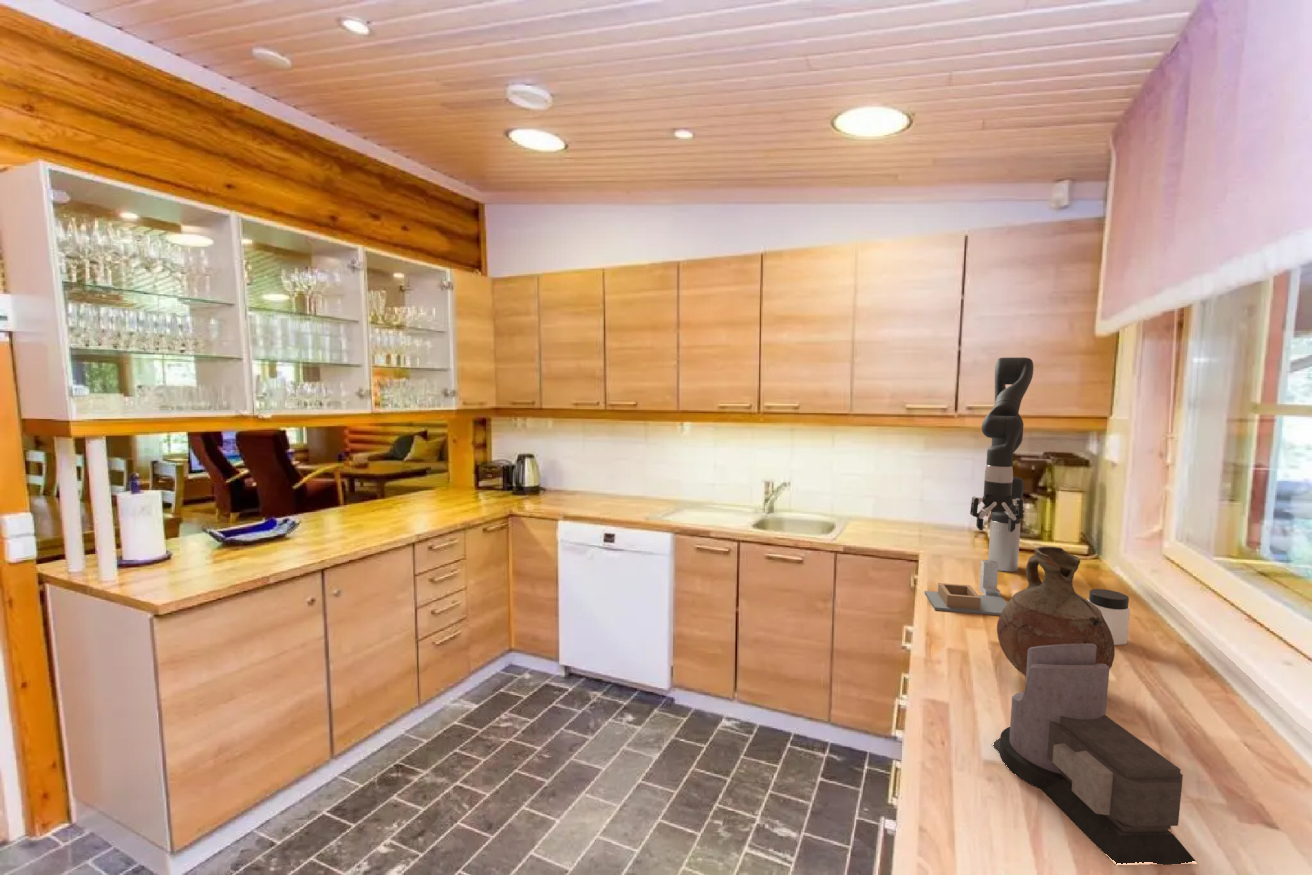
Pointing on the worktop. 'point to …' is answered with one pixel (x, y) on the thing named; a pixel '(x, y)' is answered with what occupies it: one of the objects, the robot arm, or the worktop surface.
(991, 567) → the block
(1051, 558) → the jug
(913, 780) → the worktop surface
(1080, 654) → the brown blocky piece
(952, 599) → the board
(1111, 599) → the jar
